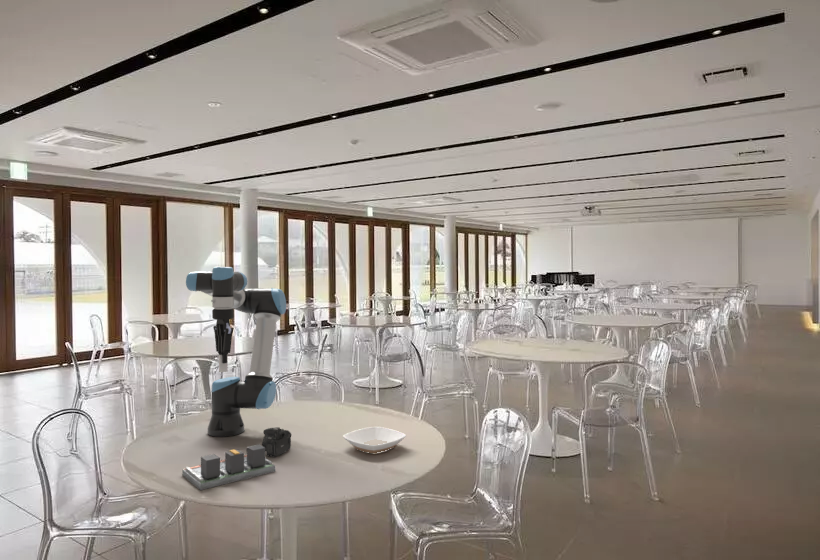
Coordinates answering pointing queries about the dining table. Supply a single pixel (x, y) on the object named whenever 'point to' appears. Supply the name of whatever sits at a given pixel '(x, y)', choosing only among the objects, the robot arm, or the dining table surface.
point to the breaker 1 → (210, 466)
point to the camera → (276, 441)
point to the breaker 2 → (234, 461)
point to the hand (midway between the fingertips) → (223, 371)
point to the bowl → (372, 433)
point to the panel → (225, 474)
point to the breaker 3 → (255, 455)
